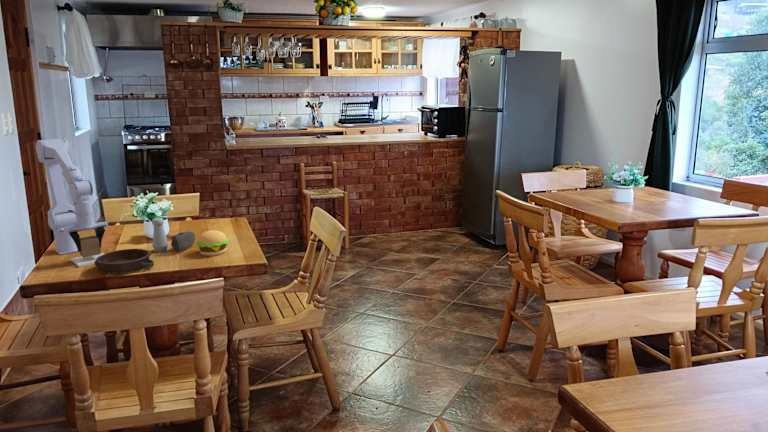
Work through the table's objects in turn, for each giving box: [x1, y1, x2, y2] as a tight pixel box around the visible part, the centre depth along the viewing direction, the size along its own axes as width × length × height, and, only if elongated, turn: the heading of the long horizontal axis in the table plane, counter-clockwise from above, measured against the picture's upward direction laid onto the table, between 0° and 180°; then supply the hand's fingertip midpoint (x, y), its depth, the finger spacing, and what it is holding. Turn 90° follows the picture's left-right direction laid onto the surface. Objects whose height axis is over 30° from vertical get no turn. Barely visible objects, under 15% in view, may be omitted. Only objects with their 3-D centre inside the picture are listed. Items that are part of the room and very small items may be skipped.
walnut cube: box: [79, 234, 102, 258], centre depth 214 cm, size 6×6×6 cm
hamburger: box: [195, 229, 230, 257], centre depth 222 cm, size 12×12×9 cm
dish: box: [94, 248, 155, 274], centre depth 206 cm, size 18×22×5 cm
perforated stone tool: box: [170, 231, 196, 253], centre depth 228 cm, size 15×5×7 cm, turn 166°
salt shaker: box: [151, 217, 169, 253], centre depth 225 cm, size 6×6×13 cm
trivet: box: [70, 252, 105, 268], centre depth 215 cm, size 11×11×1 cm
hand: (89, 249), depth 214 cm, fingers closed on walnut cube, 6 cm apart
